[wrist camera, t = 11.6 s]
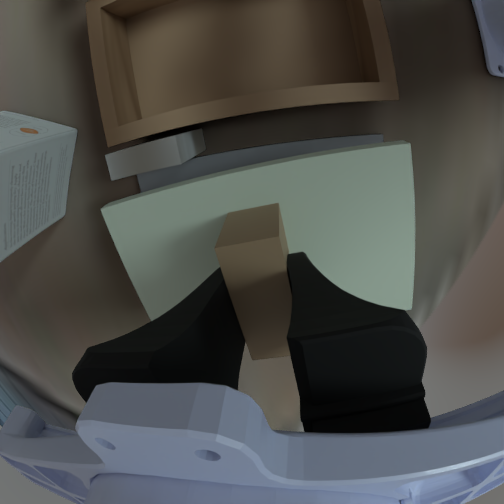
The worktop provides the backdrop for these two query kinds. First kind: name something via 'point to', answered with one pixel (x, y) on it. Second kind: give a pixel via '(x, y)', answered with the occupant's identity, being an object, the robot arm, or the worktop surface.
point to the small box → (32, 177)
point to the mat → (246, 158)
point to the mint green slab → (275, 234)
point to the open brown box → (226, 66)
